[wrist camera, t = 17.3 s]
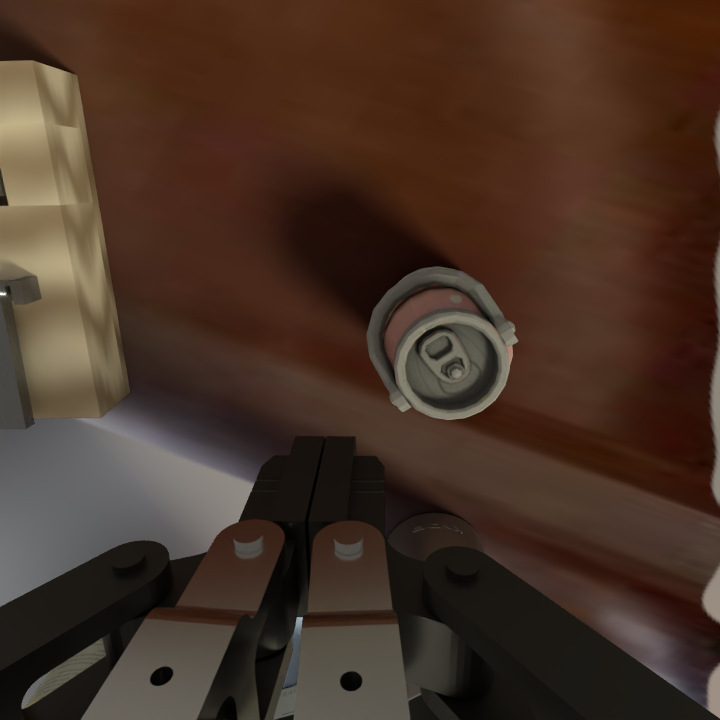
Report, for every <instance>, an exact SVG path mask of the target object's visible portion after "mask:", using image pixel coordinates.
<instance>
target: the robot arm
mask: <svg viewBox="0 0 720 720" xmlns="http://www.w3.org/2000/svg"><path fill="white" fill-rule="evenodd" d="M297 617H303V621H302V630H301V641H300V653H299V664H298V675H297V686H296V698H295V709H294V720H720V719H719V718H718V717H717V716H715V715H714V714H712V713H711V712H710V711H708V710H707V709H705V708H704V707H703V706H701V705H700V704H698V703H697V702H695V701H694V700H693V699H691V698H690V697H688V696H687V695H685V694H684V693H683V692H681V691H680V690H678V689H677V688H676V687H674V686H673V685H671V684H670V683H668V682H667V681H666V680H664V679H663V678H661V677H660V676H658V675H657V674H656V673H654V672H653V671H651V670H650V669H648V668H647V667H646V666H644V665H643V664H641V663H640V662H639V661H637V660H636V659H634V658H633V657H631V656H630V655H629V654H627V653H626V652H624V651H623V650H621V649H620V648H619V647H617V646H616V645H614V644H613V643H612V642H610V641H609V640H607V639H606V638H604V637H603V636H602V635H600V634H599V633H597V632H596V631H594V630H593V629H592V628H590V627H589V626H587V625H586V624H585V623H583V622H582V621H580V620H579V619H577V618H576V617H575V616H573V615H572V614H570V613H569V612H567V611H566V610H565V609H563V608H562V607H560V606H559V605H558V604H556V603H555V602H553V601H552V600H550V599H549V598H548V597H546V596H545V595H543V594H542V593H540V592H539V591H538V590H536V589H535V588H533V587H532V586H530V585H529V584H528V583H526V582H525V581H523V580H522V579H521V578H519V577H518V576H516V575H515V574H513V573H512V572H511V571H509V570H508V569H506V568H505V567H503V566H502V565H501V564H499V563H498V562H496V561H495V560H494V559H492V558H491V557H489V556H488V555H486V553H485V550H484V546H483V543H482V540H481V538H480V536H479V534H478V533H477V532H476V531H475V529H474V528H473V527H472V526H471V525H469V524H468V523H467V522H466V521H464V520H462V519H460V518H458V517H456V516H452V515H449V514H444V513H424V514H420V515H417V516H413V517H411V518H409V519H407V520H405V521H403V522H402V523H401V524H399V525H398V526H397V527H396V528H395V529H394V530H393V531H392V532H391V534H390V535H389V537H388V539H386V536H385V497H384V466H383V465H382V463H381V462H380V461H379V459H378V458H377V457H376V456H356V437H335V436H327V438H325V437H319V436H296V438H295V441H294V444H293V447H292V449H291V452H290V455H289V456H273V457H272V458H271V459H270V460H269V461H267V462H266V463H265V464H264V465H263V466H262V467H261V469H260V472H259V474H258V477H257V481H255V484H254V486H253V488H252V492H251V493H250V496H249V498H248V500H247V503H246V505H245V508H244V510H243V512H242V515H241V517H240V519H239V522H238V523H235V524H233V525H230V526H228V527H227V528H225V529H224V530H222V531H221V532H220V533H219V534H218V535H217V536H216V538H215V539H214V541H213V543H212V545H211V546H210V548H209V550H208V551H207V552H205V553H202V554H199V555H195V556H190V557H185V558H181V559H176V560H171V561H170V559H169V552H168V550H167V548H165V546H163V545H162V544H160V543H157V542H154V541H145V540H144V541H134V542H129V543H126V544H122V545H119V546H117V547H115V548H113V549H111V550H109V551H107V552H105V553H103V554H101V555H99V556H97V557H95V558H93V559H91V560H90V561H88V562H86V563H84V564H82V565H80V566H78V567H76V568H74V569H72V570H71V571H68V572H66V573H65V574H63V575H61V576H59V577H57V578H55V579H53V580H51V581H49V582H47V583H45V584H43V585H41V586H40V587H38V588H36V589H34V590H32V591H30V592H28V593H26V594H24V595H23V596H20V597H18V598H17V599H14V600H13V601H11V602H9V603H7V604H5V605H3V606H1V607H0V720H273V719H274V715H275V712H276V708H277V705H278V701H279V697H280V694H281V690H282V687H283V683H284V680H285V676H286V673H287V669H288V665H289V662H290V658H291V655H292V650H293V642H292V635H293V632H294V628H295V623H296V618H297ZM101 638H102V640H103V645H104V649H105V654H106V656H105V657H103V658H102V659H100V660H99V661H97V662H96V663H94V664H93V665H91V666H90V667H88V668H87V669H85V670H84V671H82V672H81V673H79V674H78V675H76V676H75V677H73V678H72V679H70V680H69V681H67V682H66V683H64V684H63V685H61V686H60V687H58V688H57V689H55V690H54V691H52V692H51V693H49V694H48V695H46V696H45V697H43V698H41V699H40V700H38V701H37V702H35V703H34V704H32V705H31V706H29V707H27V708H25V709H22V708H21V703H22V700H23V697H24V695H25V693H26V692H27V690H28V689H29V688H30V686H31V685H32V684H33V683H34V682H35V681H36V680H38V679H39V678H40V677H42V676H43V675H45V674H46V673H48V672H49V671H51V670H52V669H54V668H56V667H57V666H59V665H60V664H62V663H64V662H65V661H67V660H68V659H70V658H71V657H73V656H75V655H76V654H78V653H79V652H81V651H82V650H84V649H86V648H87V647H89V646H90V645H92V644H94V643H95V642H97V641H98V640H100V639H101Z"/></svg>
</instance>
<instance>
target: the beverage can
mask: <svg viewBox="0 0 720 720" xmlns="http://www.w3.org/2000/svg"><path fill="white" fill-rule="evenodd" d="M514 332H515V327H514V324H512V323H511V322H510V321H506V319H505V317H504V316H503V314H502V312H501V311H500V309H499V308H498V307H497V305H496V304H495V302H494V301H493V299H492V298H491V296H490V295H489V293H488V292H487V290H486V289H485V287H484V286H483V284H481V283H480V282H478V281H477V280H475V279H473V278H472V277H470V276H469V275H467V274H466V273H464V272H463V271H458V270H455V269H450V268H444V267H439V266H436V267H429V268H422V269H419V270H417V271H415V272H413V273H411V274H408V275H406V276H405V277H404V278H403V279H401V280H400V281H399V282H398V283H397V284H396V285H395V286H394V287H392V288H391V289H389V290H388V291H387V293H386V294H385V295H384V296H383V298H382V299H381V300H380V302H379V303H378V304H377V306H376V307H375V308H374V309H373V313H372V316H371V320H370V324H369V327H368V331H367V334H366V335H367V342H368V349H369V356H370V359H371V361H372V363H373V365H374V366H375V368H376V370H377V372H378V374H379V375H380V377H381V379H382V381H383V382H384V384H385V386H386V388H387V389H388V391H389V393H390V396H389V398H390V400H391V402H392V403H393V404H394V405H397V406H398V408H399V409H400V410H401V411H402V412H404V411H406V410H407V409H409V408H411V407H412V406H413V407H414V408H415V409H416V410H418V411H420V412H422V413H424V414H426V415H428V416H430V417H434V418H439V419H445V420H452V419H461V418H467V417H469V416H471V415H474V414H476V413H479V412H481V411H483V410H484V409H485V408H486V407H488V406H489V405H490V404H491V403H493V402H494V401H495V400H496V399H497V397H498V396H499V394H500V393H501V391H502V390H503V388H504V387H505V384H506V381H507V377H508V374H509V370H510V364H511V360H512V357H513V350H512V345H513V344H515V343H516V342H518V340H517V338H516V337H515V335H514Z"/></svg>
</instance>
